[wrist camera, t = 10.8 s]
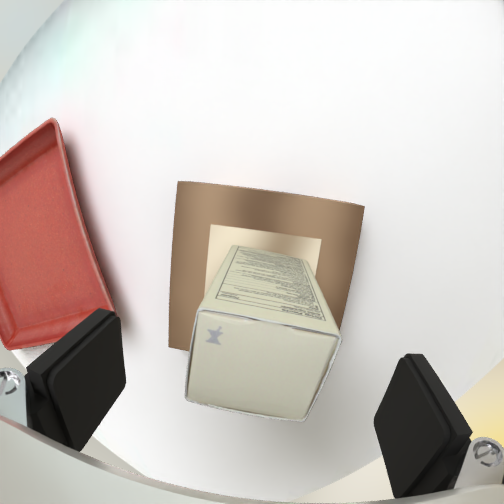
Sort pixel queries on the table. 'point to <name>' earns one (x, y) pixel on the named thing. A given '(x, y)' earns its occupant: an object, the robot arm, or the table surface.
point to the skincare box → (261, 338)
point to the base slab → (256, 242)
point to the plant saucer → (44, 245)
